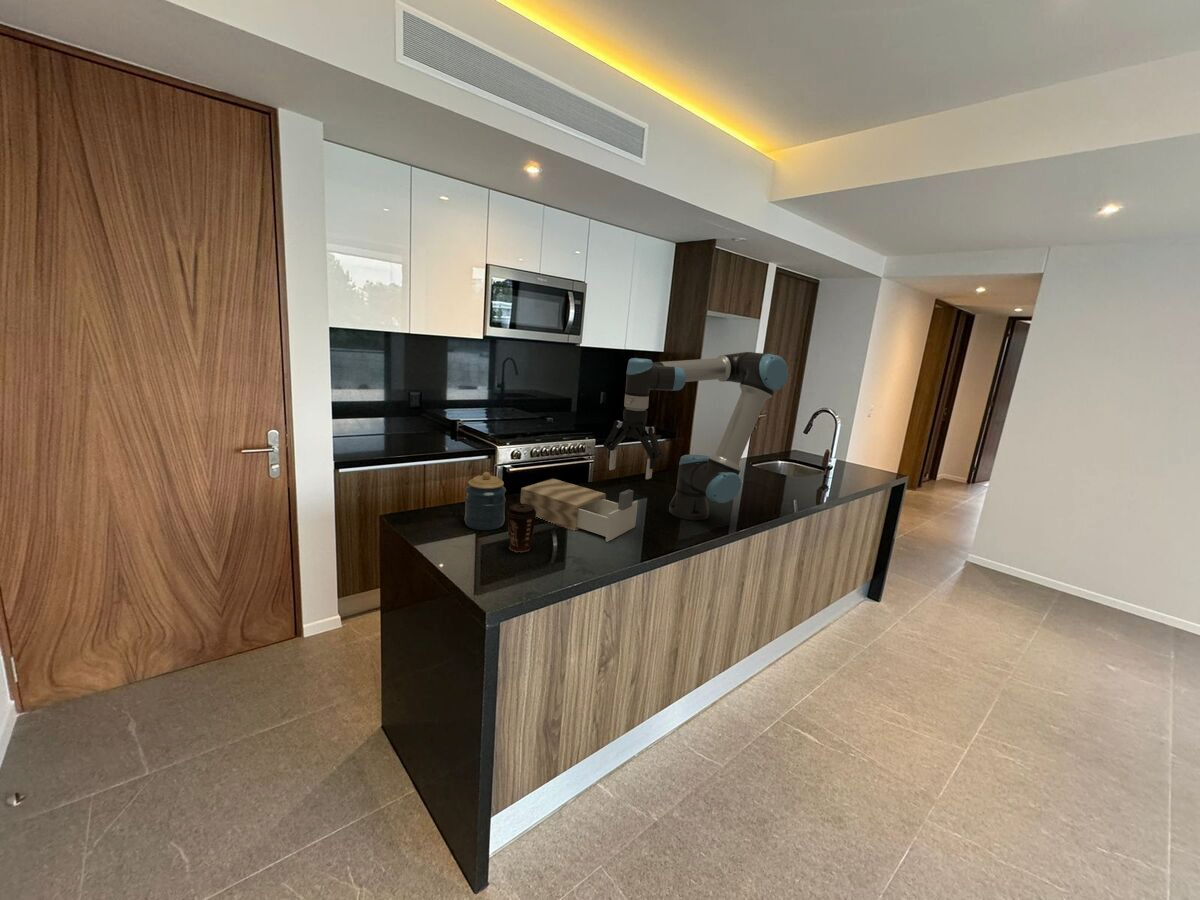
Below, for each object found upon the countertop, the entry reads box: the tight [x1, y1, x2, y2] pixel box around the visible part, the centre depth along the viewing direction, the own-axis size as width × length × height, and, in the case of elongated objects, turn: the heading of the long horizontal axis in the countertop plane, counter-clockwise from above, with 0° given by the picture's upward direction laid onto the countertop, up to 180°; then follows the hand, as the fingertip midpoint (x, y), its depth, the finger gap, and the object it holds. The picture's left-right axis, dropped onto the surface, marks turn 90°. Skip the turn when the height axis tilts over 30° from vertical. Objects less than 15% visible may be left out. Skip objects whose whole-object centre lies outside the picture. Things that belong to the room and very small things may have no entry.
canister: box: [464, 471, 507, 531], centre depth 163 cm, size 13×13×18 cm
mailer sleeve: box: [519, 478, 607, 532], centre depth 178 cm, size 24×18×9 cm
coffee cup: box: [506, 502, 537, 553], centre depth 148 cm, size 9×8×13 cm
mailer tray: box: [576, 489, 639, 543], centre depth 170 cm, size 25×18×15 cm
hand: (629, 473), depth 161 cm, fingers open, 13 cm apart
